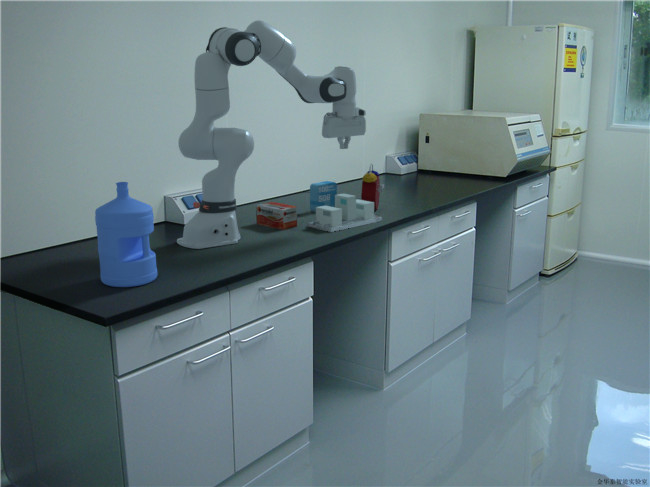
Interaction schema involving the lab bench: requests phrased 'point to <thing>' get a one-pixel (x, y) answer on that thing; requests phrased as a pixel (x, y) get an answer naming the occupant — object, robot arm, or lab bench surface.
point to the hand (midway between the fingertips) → (343, 148)
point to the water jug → (125, 241)
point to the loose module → (346, 205)
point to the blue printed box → (322, 194)
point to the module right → (364, 209)
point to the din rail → (345, 224)
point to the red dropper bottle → (371, 187)
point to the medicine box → (276, 215)
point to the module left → (329, 215)
